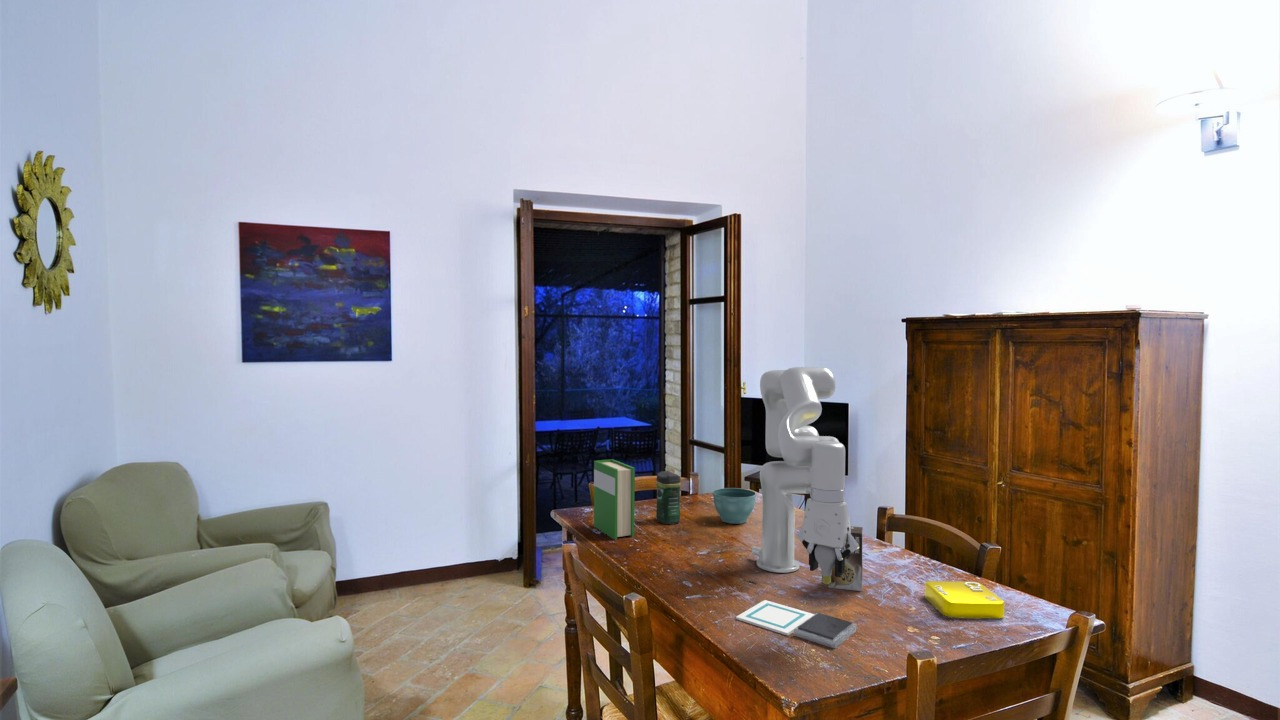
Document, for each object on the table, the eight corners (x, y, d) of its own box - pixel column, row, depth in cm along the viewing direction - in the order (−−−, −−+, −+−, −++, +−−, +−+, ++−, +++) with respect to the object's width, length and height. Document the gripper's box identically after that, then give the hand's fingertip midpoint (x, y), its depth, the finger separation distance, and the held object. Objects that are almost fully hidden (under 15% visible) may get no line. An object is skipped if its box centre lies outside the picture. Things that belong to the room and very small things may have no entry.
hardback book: (634, 537, 232) (634, 467, 231) (614, 539, 228) (615, 469, 228) (612, 524, 247) (612, 459, 247) (593, 526, 244) (594, 460, 243)
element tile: (922, 596, 181) (922, 578, 181) (978, 597, 181) (978, 579, 181) (946, 619, 166) (946, 600, 166) (1007, 620, 166) (1008, 601, 166)
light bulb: (810, 580, 159) (811, 538, 159) (833, 579, 160) (833, 538, 159) (818, 589, 154) (819, 545, 153) (842, 588, 154) (842, 545, 154)
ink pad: (793, 635, 156) (793, 627, 156) (816, 619, 165) (817, 611, 165) (834, 648, 149) (835, 639, 149) (856, 630, 158) (856, 622, 158)
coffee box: (862, 583, 189) (863, 526, 188) (862, 592, 183) (863, 533, 182) (828, 579, 192) (829, 523, 191) (827, 587, 186) (828, 529, 185)
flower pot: (713, 514, 262) (713, 486, 262) (755, 516, 260) (755, 488, 259) (711, 526, 246) (711, 496, 246) (756, 528, 244) (756, 498, 243)
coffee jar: (683, 523, 249) (683, 473, 248) (664, 526, 246) (664, 475, 245) (672, 517, 258) (672, 468, 257) (653, 519, 254) (653, 470, 254)
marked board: (735, 619, 165) (736, 616, 165) (764, 602, 175) (764, 599, 175) (787, 635, 156) (787, 632, 156) (814, 616, 166) (815, 614, 166)
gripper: (786, 492, 159) (785, 568, 159) (857, 504, 148) (855, 586, 148) (801, 486, 164) (800, 560, 165) (870, 498, 153) (868, 576, 154)
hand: (826, 571), depth 157 cm, fingers closed on light bulb, 5 cm apart
